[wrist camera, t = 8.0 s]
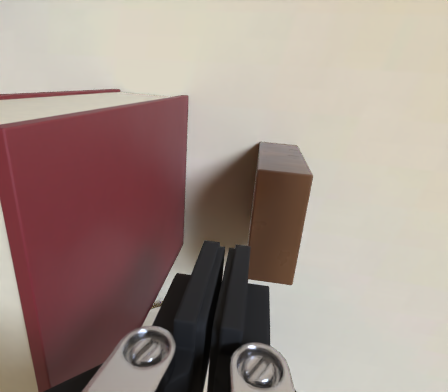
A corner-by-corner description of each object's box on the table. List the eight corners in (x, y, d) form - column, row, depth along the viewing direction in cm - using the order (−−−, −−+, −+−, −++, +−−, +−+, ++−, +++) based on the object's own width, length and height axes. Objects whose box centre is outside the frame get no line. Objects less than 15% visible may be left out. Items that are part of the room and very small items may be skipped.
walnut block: (297, 145, 20) (313, 175, 14) (284, 227, 22) (292, 286, 16) (259, 141, 20) (257, 169, 14) (249, 222, 22) (244, 279, 16)
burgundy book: (3, 128, 6) (-228, 103, 6) (66, 477, 10) (-78, 447, 10) (188, 95, 20) (113, 88, 20) (183, 244, 24) (120, 235, 24)
